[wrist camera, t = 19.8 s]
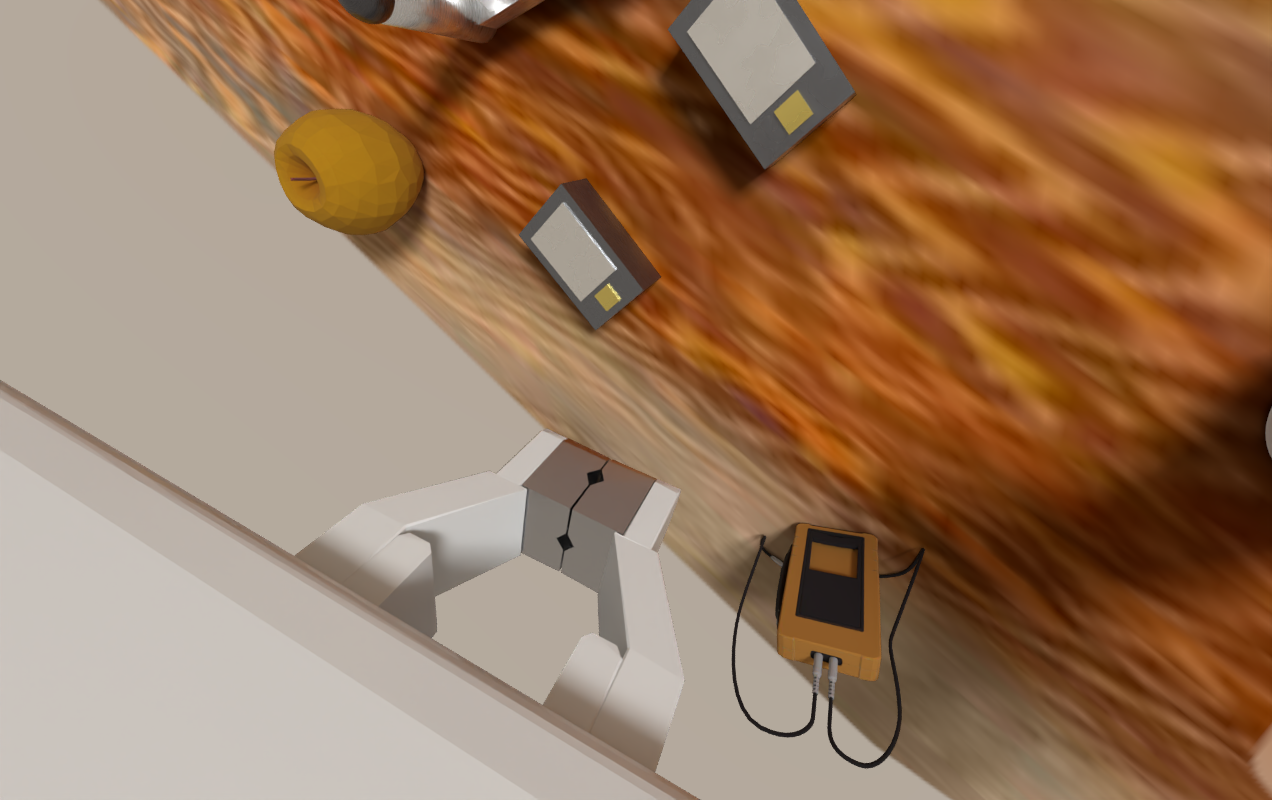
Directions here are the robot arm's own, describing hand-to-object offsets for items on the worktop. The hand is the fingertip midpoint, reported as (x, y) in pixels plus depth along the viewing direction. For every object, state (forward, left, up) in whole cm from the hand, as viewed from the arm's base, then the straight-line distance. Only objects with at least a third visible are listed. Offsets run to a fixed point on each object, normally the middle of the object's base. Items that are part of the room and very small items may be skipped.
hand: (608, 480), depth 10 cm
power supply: (+14, -8, -31) cm, 35 cm away
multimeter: (+15, +30, -31) cm, 46 cm away
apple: (+25, -26, -31) cm, 48 cm away
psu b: (-4, -9, -31) cm, 33 cm away
